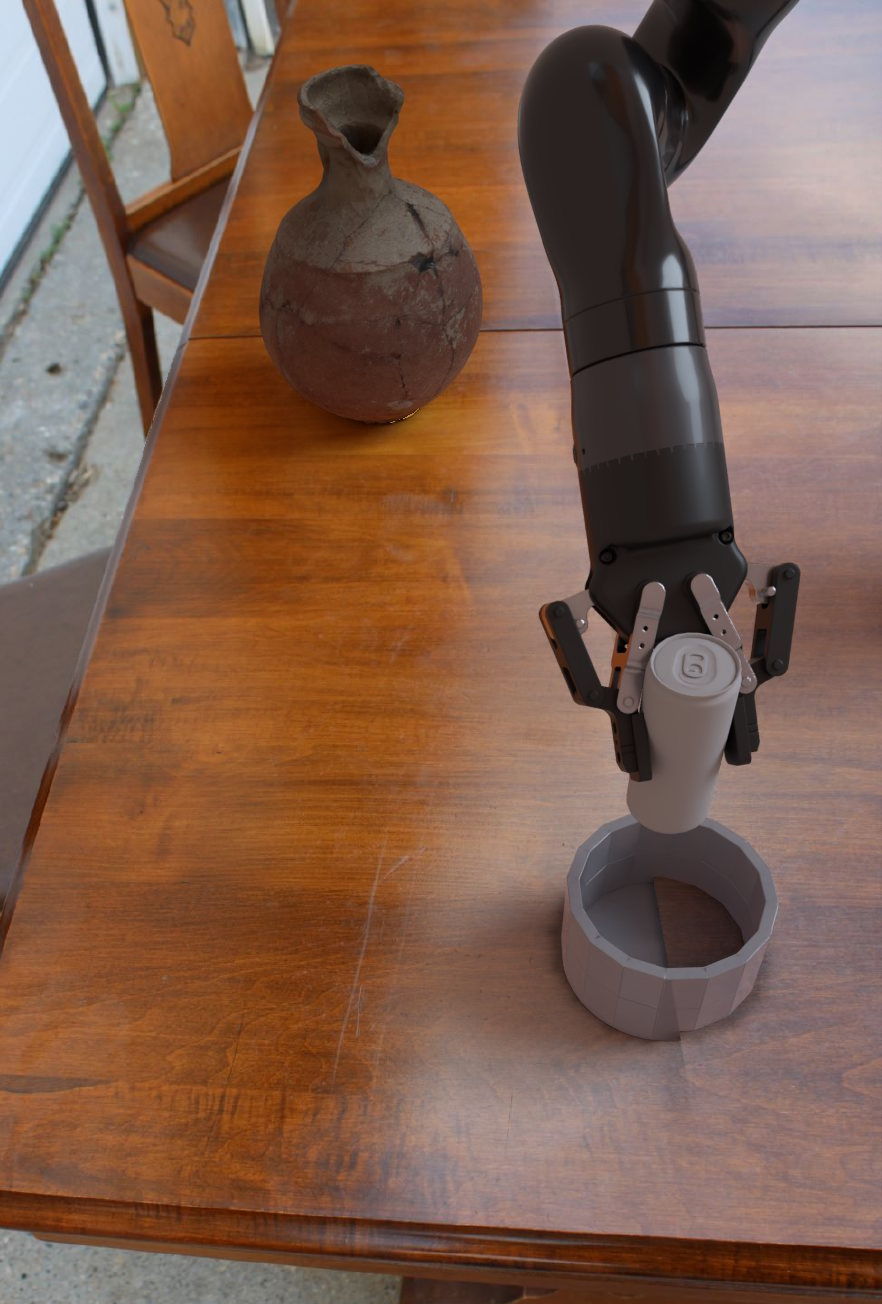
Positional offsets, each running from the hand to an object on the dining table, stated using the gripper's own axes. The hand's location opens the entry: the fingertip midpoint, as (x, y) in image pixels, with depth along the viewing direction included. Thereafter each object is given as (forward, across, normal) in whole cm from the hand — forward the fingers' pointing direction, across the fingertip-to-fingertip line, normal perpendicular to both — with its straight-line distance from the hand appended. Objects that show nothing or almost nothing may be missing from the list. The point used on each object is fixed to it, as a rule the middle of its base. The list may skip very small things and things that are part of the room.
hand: (690, 770), depth 65 cm
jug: (-34, -8, +63) cm, 72 cm away
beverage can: (+3, 0, +6) cm, 6 cm away
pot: (+14, 0, +14) cm, 20 cm away
